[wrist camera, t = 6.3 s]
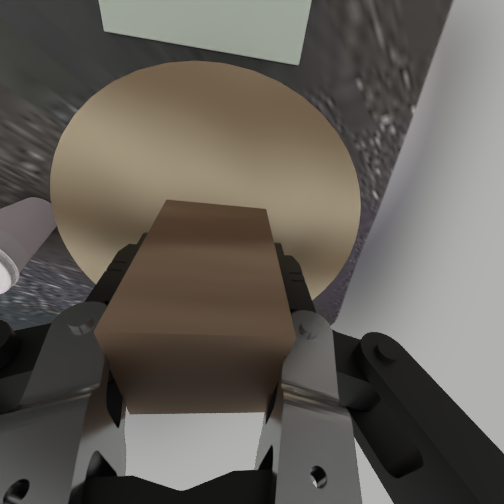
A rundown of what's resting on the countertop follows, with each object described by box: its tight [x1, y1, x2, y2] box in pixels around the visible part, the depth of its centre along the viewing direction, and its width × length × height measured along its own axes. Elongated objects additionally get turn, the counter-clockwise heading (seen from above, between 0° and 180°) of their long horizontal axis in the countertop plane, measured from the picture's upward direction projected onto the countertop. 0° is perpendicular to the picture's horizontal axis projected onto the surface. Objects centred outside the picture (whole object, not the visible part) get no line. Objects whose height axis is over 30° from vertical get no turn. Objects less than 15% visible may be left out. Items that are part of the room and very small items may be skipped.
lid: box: [50, 61, 361, 414], centre depth 9 cm, size 13×13×7 cm
